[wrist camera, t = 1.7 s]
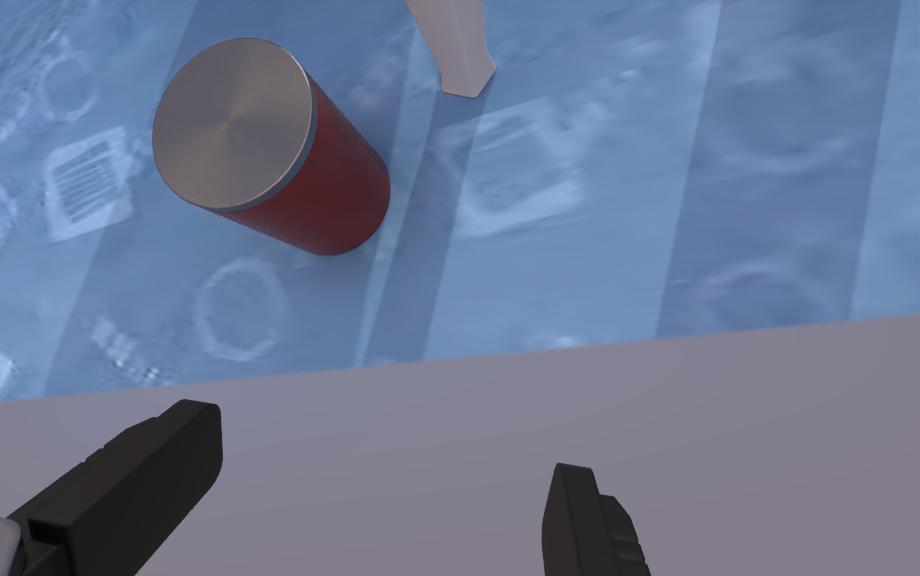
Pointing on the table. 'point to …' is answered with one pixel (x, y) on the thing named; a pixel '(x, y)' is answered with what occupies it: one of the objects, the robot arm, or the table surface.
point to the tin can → (268, 149)
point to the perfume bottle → (456, 42)
